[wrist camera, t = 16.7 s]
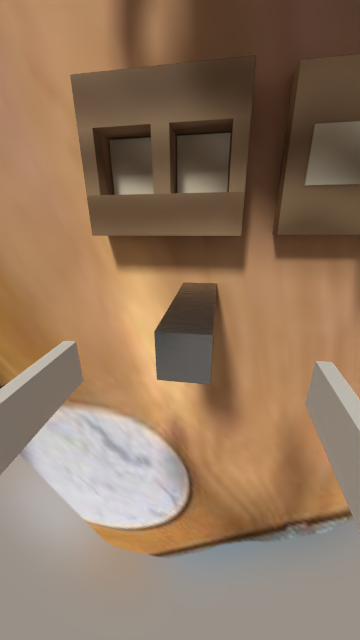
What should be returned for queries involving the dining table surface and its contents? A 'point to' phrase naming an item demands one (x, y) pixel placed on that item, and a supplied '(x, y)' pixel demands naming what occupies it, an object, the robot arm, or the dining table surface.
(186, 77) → the build board
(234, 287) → the dining table surface
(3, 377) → the dining table surface
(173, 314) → the pin
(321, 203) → the board
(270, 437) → the dining table surface
